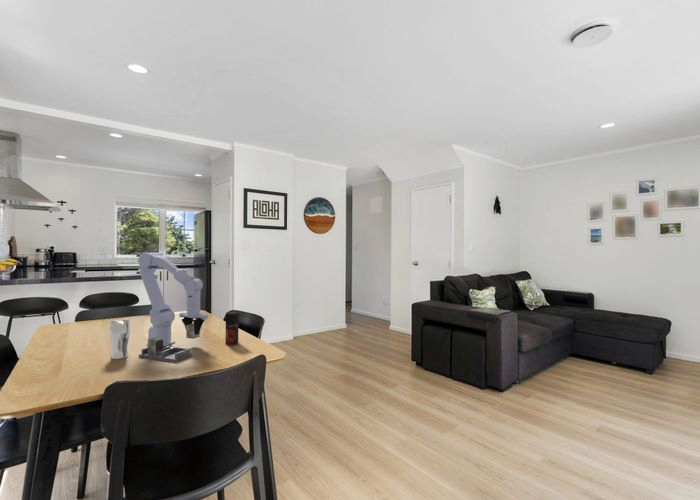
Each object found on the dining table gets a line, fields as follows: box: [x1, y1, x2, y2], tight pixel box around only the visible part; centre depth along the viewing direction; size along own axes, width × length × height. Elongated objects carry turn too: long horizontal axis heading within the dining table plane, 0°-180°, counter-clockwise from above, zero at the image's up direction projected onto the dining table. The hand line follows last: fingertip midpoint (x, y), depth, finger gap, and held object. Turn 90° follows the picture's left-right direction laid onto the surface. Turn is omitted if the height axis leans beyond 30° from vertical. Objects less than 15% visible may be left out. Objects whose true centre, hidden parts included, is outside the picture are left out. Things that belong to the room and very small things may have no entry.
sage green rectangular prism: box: [185, 322, 201, 340], centre depth 161 cm, size 4×4×6 cm
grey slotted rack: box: [138, 337, 193, 363], centre depth 146 cm, size 19×9×7 cm, turn 73°
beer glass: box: [109, 319, 131, 360], centre depth 144 cm, size 7×7×15 cm
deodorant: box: [225, 311, 240, 346], centre depth 167 cm, size 6×6×15 cm
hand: (193, 333), depth 161 cm, fingers closed on sage green rectangular prism, 4 cm apart
